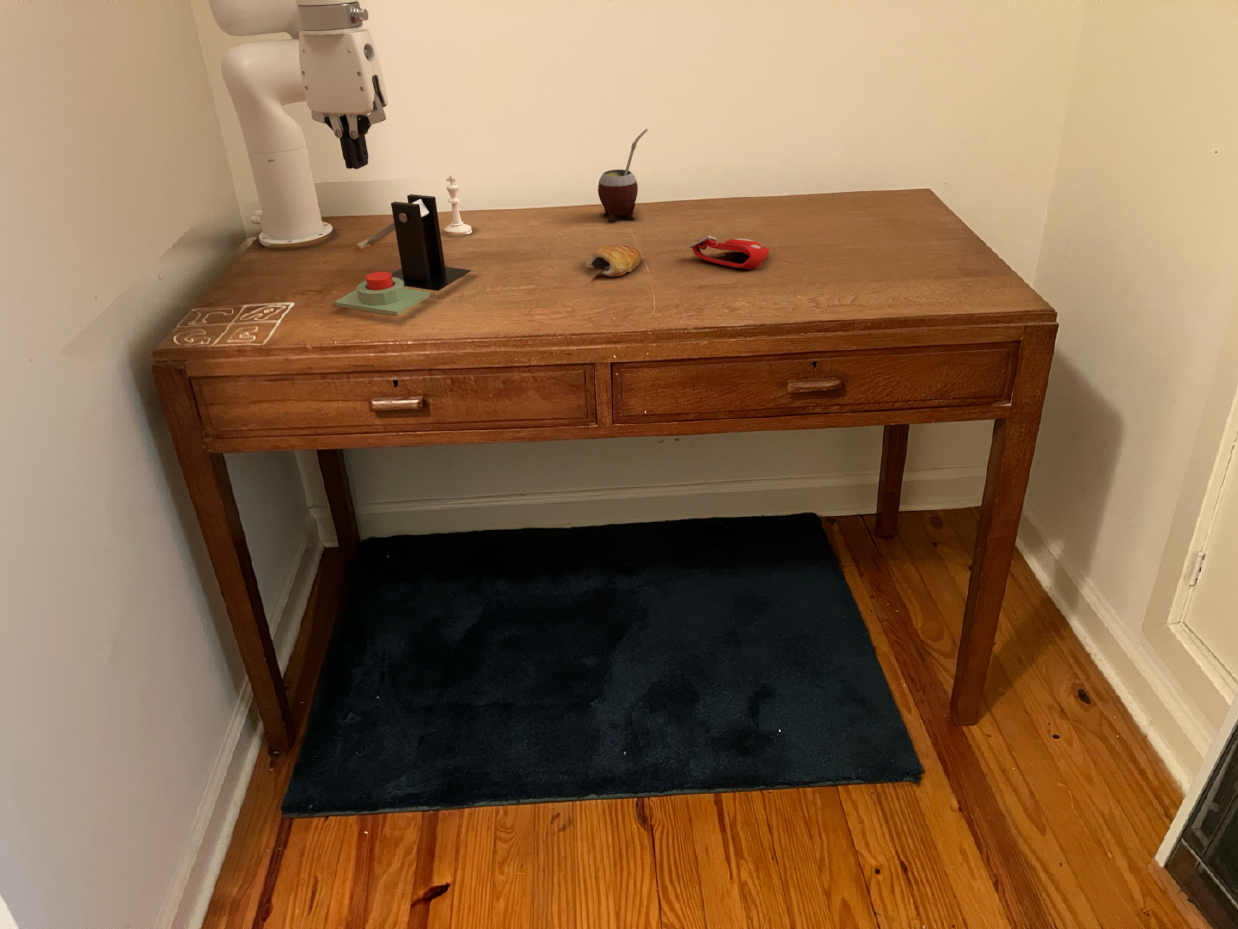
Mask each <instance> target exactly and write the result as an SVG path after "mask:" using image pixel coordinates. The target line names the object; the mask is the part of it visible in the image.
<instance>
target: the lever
mask: <svg viewBox="0 0 1238 929" xmlns="http://www.w3.org/2000/svg"><path fill="white" fill-rule="evenodd" d="M413 204H419V205H420V211H421V218H423V217H425V216H426V215H428V214H429V211H428V210H427V208H426V207H425V205H424V203H423V202H422V200H421V199H419V200H417V201H415V202H413ZM394 232H396V231H395V225H394V221H393V222H391V223H390V224H388V225H387V226H385V227H384V228H383V229H381V230H380V231H378V232H377V233H375V234H374V235H372V236H371V237H368V238H366V239H364V240H361V241H360V242H358V243H356V244H355V245H354V246H353V250H355V252H356V253H358V254H360V253H362V252H364V251H366V250H369V249H371V248H372V247H374V246H376V245H378V244H380V243H382V242H384V241H385V240H386V237H387V236H389V235H390V234H392V233H394Z"/></svg>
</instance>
